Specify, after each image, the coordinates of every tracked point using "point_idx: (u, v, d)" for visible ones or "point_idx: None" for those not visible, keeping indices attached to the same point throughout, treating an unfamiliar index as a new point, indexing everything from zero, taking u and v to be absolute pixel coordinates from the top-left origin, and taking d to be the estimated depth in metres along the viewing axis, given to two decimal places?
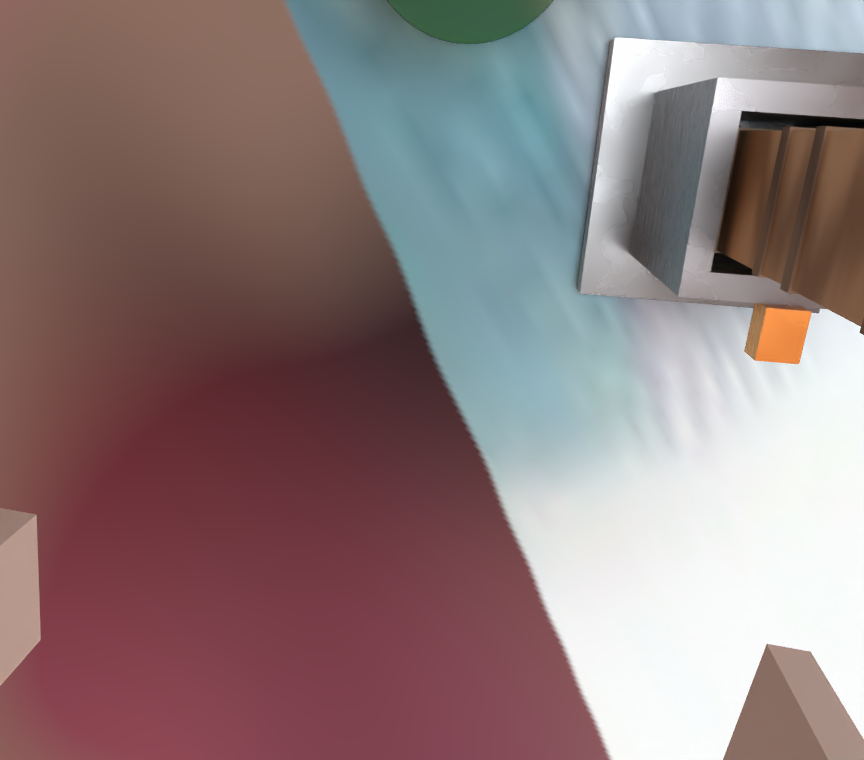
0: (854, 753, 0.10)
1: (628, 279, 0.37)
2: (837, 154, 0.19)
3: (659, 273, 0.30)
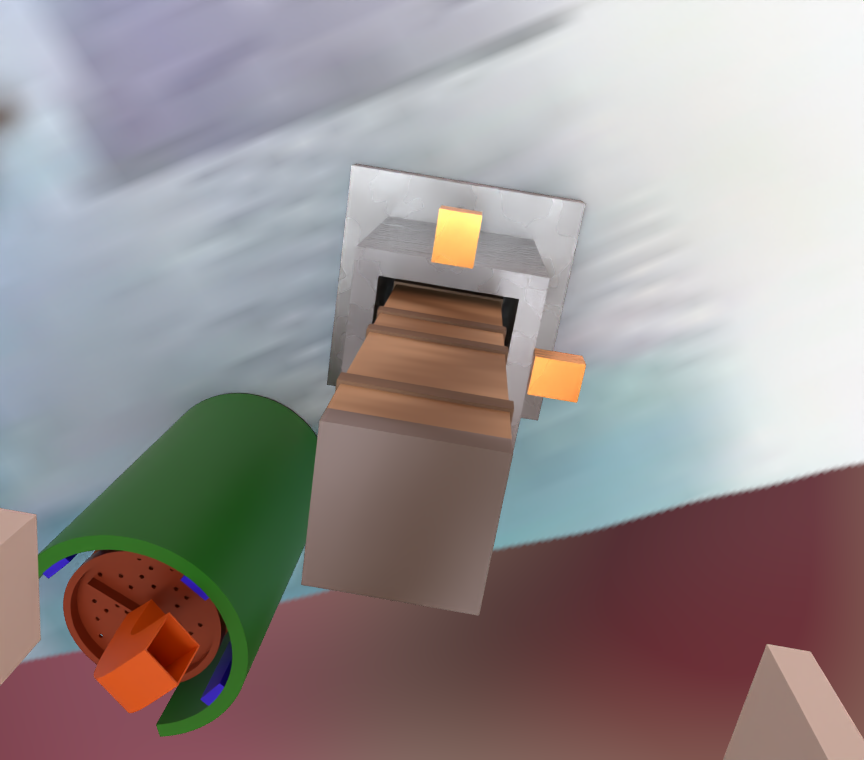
0: (854, 753, 0.10)
1: None
2: None
3: None
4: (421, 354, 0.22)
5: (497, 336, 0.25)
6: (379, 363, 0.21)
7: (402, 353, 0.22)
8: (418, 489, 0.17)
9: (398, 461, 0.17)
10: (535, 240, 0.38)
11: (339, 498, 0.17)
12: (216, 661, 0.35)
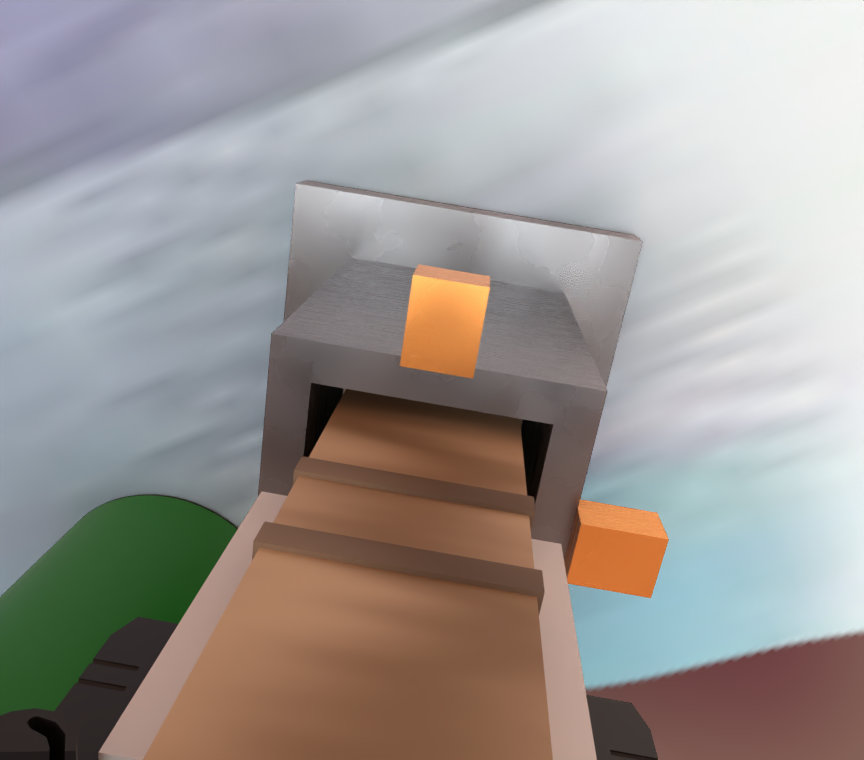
0: (556, 611, 0.13)
1: None
2: None
3: None
4: (357, 627, 0.10)
5: (520, 528, 0.13)
6: (246, 692, 0.09)
7: (313, 631, 0.10)
8: None
9: None
10: (567, 293, 0.26)
11: None
12: None
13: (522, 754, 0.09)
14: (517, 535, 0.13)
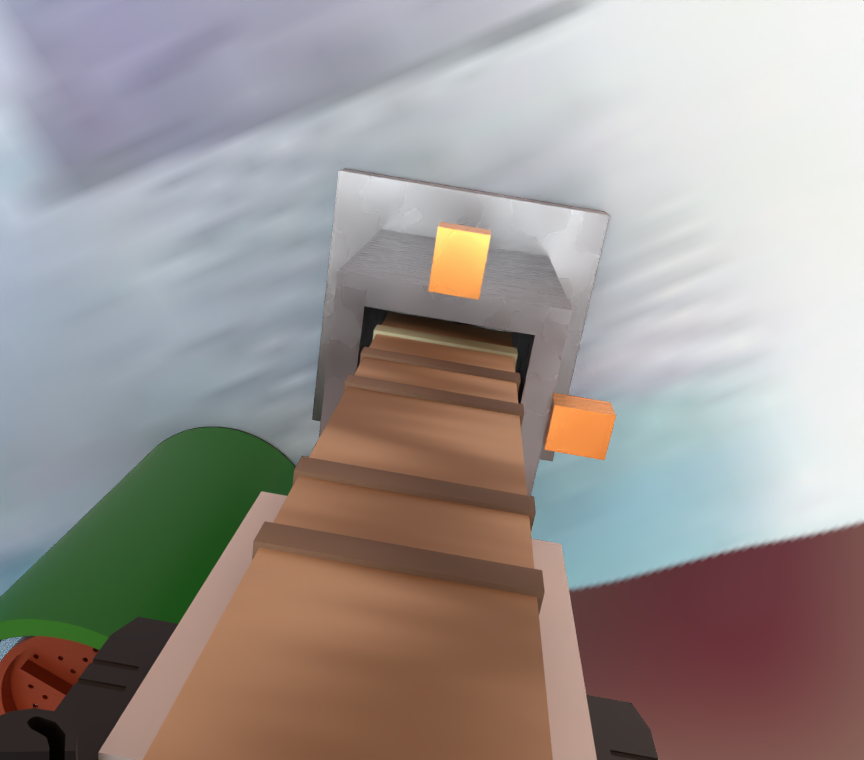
0: (556, 611, 0.13)
1: None
2: None
3: None
4: (357, 627, 0.10)
5: (519, 529, 0.13)
6: (246, 692, 0.09)
7: (314, 631, 0.10)
8: None
9: None
10: (551, 257, 0.33)
11: None
12: None
13: (522, 754, 0.09)
14: (517, 535, 0.13)
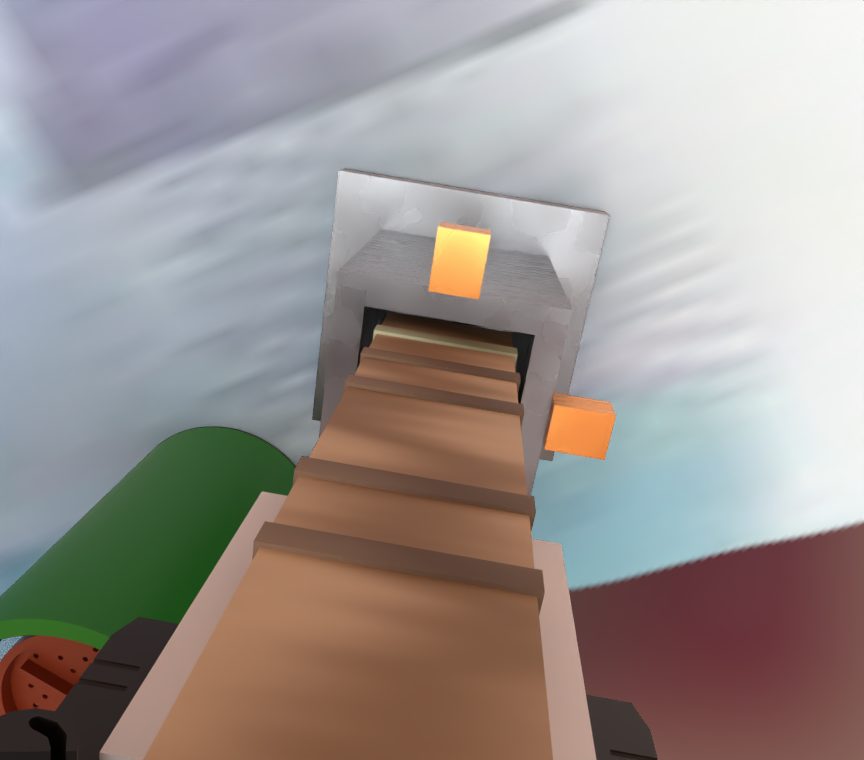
0: (556, 611, 0.13)
1: None
2: None
3: None
4: (357, 627, 0.10)
5: (519, 528, 0.13)
6: (246, 691, 0.09)
7: (314, 631, 0.10)
8: None
9: None
10: (551, 257, 0.33)
11: None
12: None
13: (522, 754, 0.09)
14: (517, 535, 0.13)
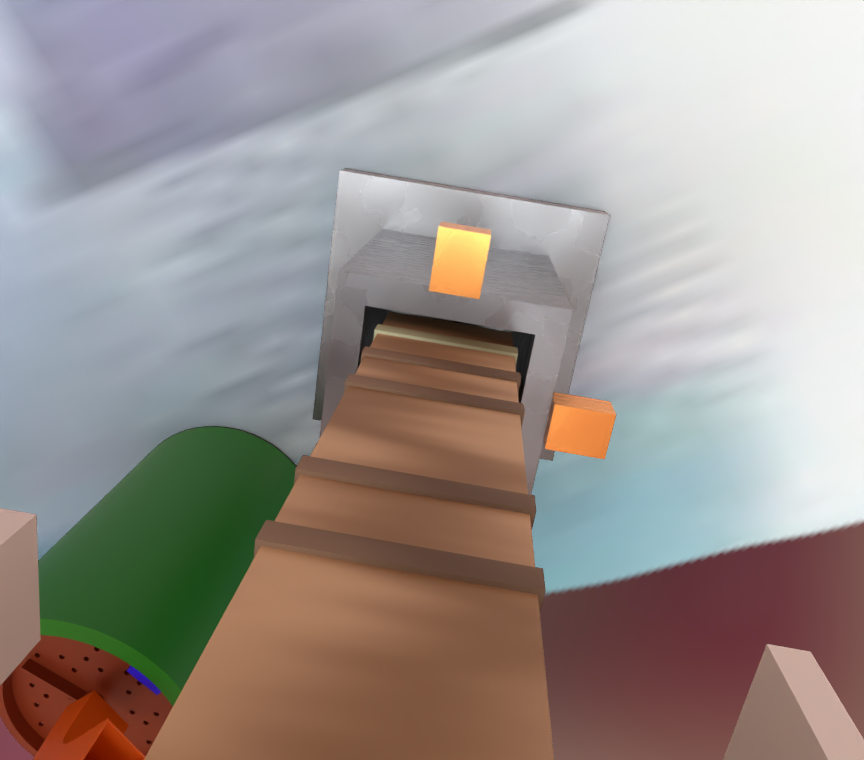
0: (854, 753, 0.10)
1: None
2: None
3: None
4: (358, 625, 0.10)
5: (520, 528, 0.13)
6: (248, 689, 0.09)
7: (315, 629, 0.10)
8: None
9: None
10: (551, 257, 0.33)
11: None
12: None
13: (523, 751, 0.09)
14: (518, 533, 0.13)
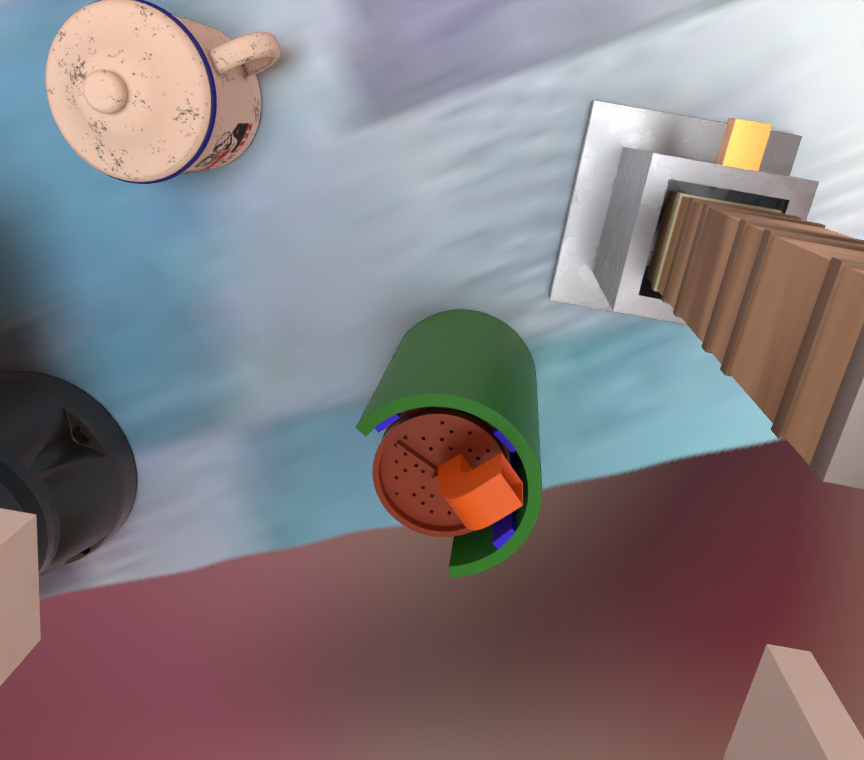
0: (854, 753, 0.10)
1: None
2: None
3: None
4: (856, 254, 0.20)
5: None
6: (839, 256, 0.19)
7: (839, 252, 0.20)
8: None
9: None
10: None
11: None
12: None
13: None
14: None
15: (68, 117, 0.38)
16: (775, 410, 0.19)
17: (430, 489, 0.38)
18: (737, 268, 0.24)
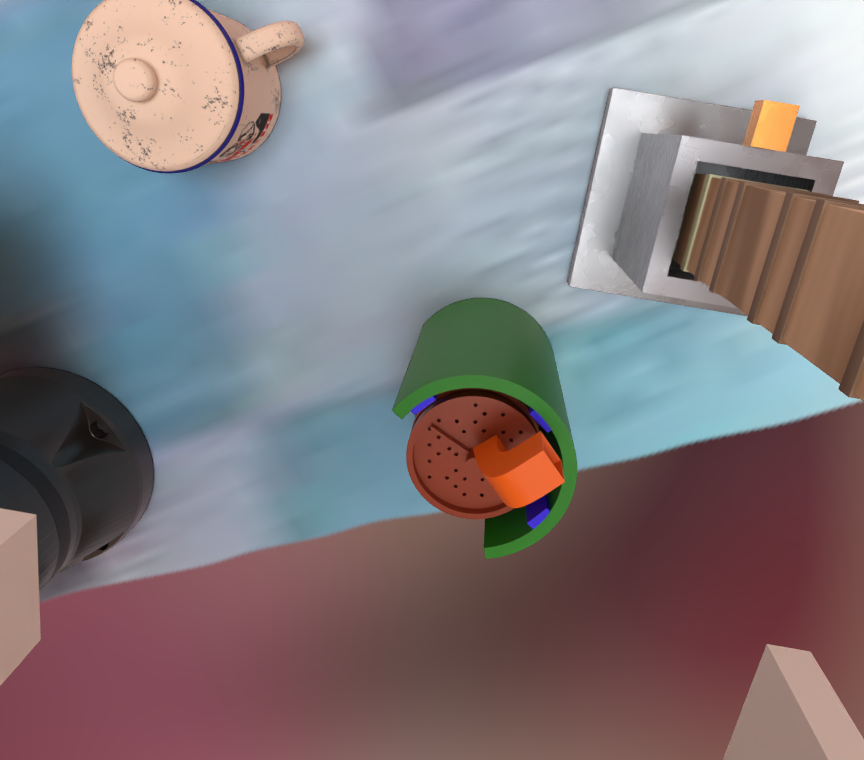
0: (854, 753, 0.10)
1: None
2: None
3: None
4: None
5: None
6: None
7: None
8: None
9: None
10: None
11: None
12: None
13: None
14: None
15: (95, 106, 0.38)
16: (841, 371, 0.20)
17: (463, 472, 0.39)
18: (785, 240, 0.25)
